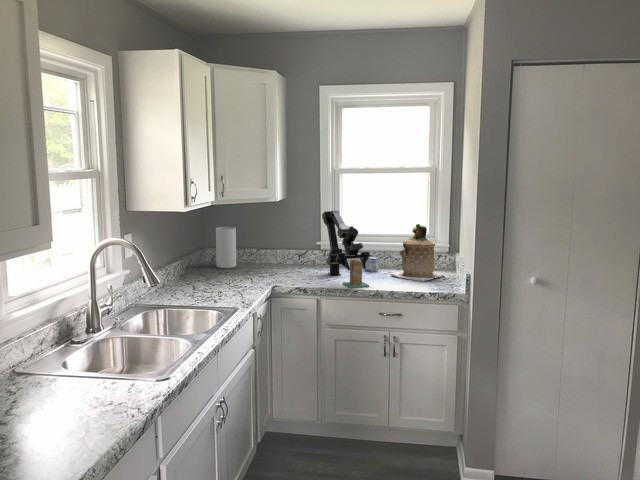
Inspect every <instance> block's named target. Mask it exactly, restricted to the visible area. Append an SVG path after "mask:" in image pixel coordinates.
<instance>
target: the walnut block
mask: <svg viewBox="0 0 640 480" xmlns="http://www.w3.org/2000/svg"><path fill="white" fill-rule="evenodd" d="M349 268H350V270H349V282H350V283H351V284H353V285H359V284H362V282H363V266H362V261H361V260H359V259H356V260H355V259H352V260H350V261H349Z"/></svg>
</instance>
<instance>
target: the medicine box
mask: <svg viewBox="0 0 640 480" xmlns="http://www.w3.org/2000/svg"><path fill="white" fill-rule="evenodd" d="M379 263H380V258H378V257H371V256H369V258H368V260H367V261H366V265H365V270H364V269H363V270H364V272H367V273H378V272H379V270H380V268H379V266H380V265H379Z"/></svg>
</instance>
